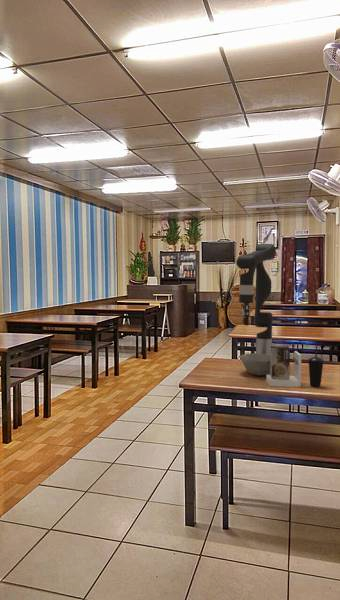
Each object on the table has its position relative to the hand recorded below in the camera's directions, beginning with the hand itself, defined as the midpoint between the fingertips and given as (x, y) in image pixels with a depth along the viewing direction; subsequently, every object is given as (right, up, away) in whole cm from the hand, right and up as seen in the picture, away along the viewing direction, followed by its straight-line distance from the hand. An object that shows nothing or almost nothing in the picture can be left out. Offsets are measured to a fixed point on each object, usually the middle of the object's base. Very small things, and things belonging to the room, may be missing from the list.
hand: (245, 324), depth 223 cm
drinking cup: (+33, -31, -10) cm, 46 cm away
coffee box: (+16, -27, -5) cm, 32 cm away
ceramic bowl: (+11, -29, +15) cm, 35 cm away
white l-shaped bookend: (+18, -30, -5) cm, 35 cm away
